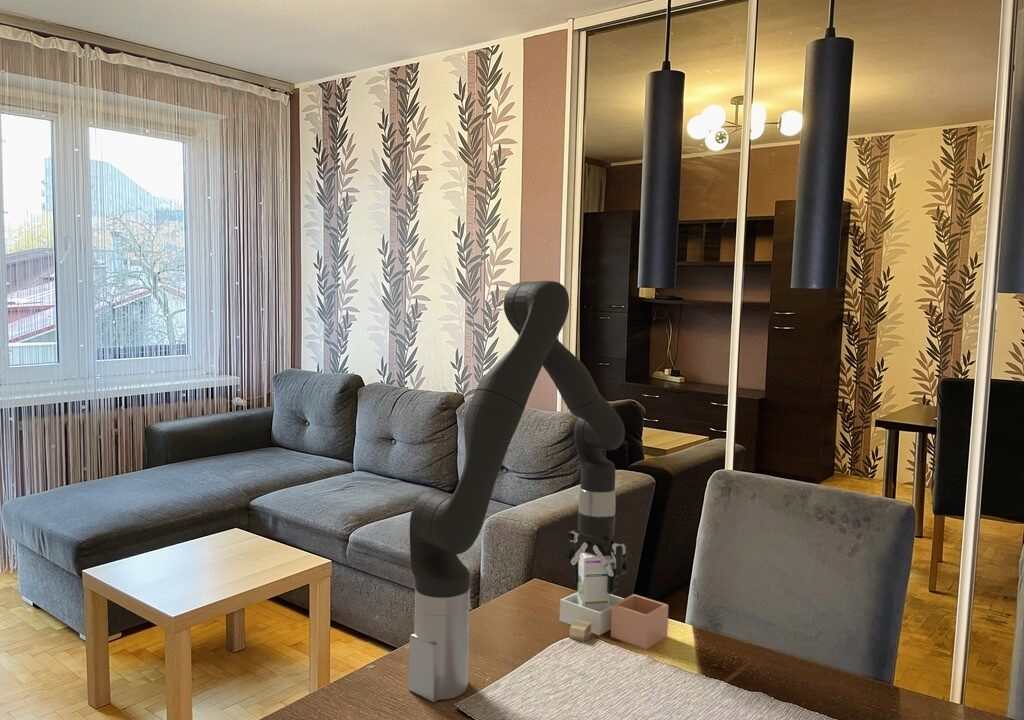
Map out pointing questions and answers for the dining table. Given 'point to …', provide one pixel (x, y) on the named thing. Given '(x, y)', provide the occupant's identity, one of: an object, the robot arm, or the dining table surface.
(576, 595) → the bin
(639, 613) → the open box
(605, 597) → the syrup box
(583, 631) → the beech block
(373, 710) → the dining table surface
